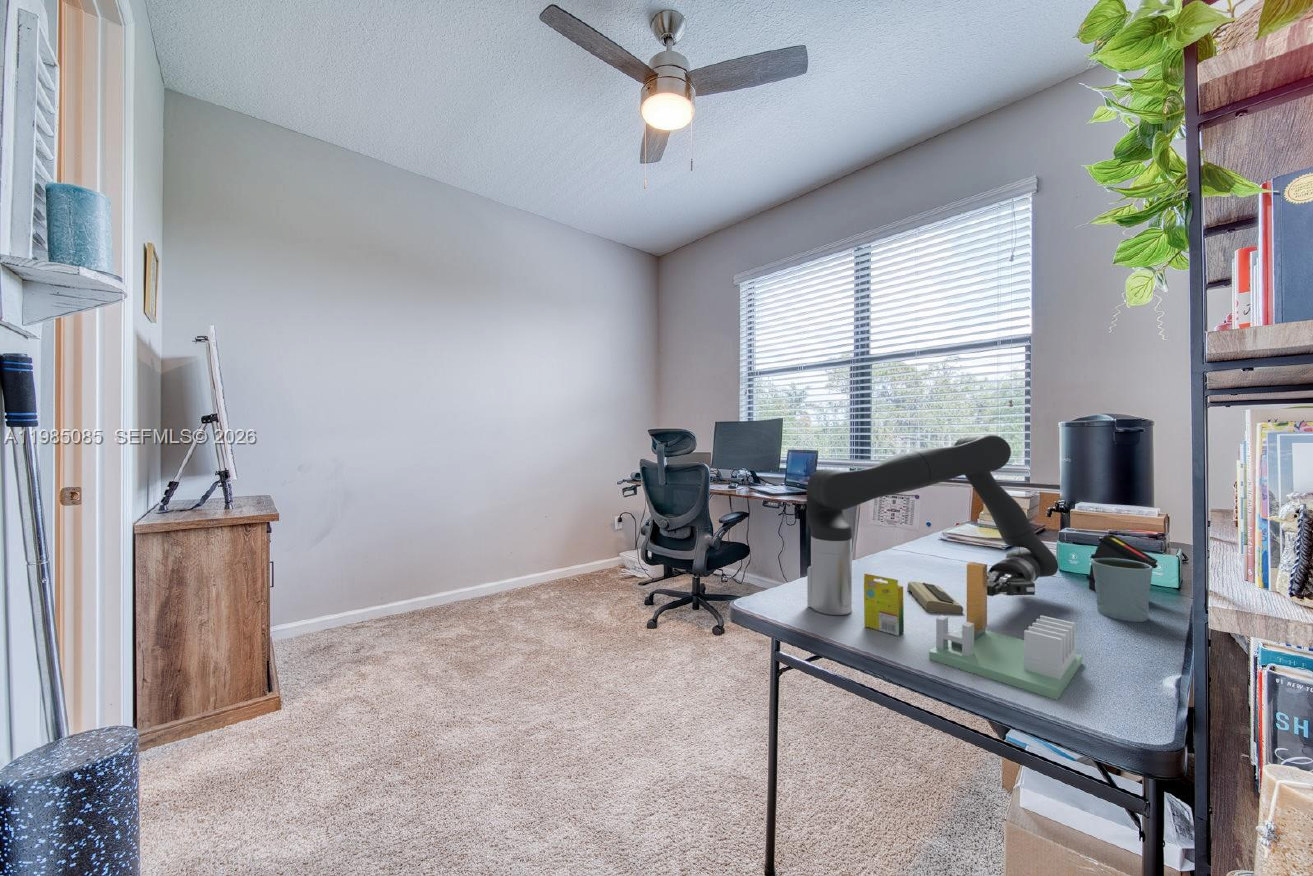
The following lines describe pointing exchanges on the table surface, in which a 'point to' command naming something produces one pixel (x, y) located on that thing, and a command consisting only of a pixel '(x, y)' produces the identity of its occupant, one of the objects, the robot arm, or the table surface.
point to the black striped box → (1118, 554)
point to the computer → (933, 598)
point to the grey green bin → (1122, 588)
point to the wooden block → (976, 599)
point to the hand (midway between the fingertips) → (988, 591)
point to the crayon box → (883, 605)
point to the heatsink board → (1014, 654)
